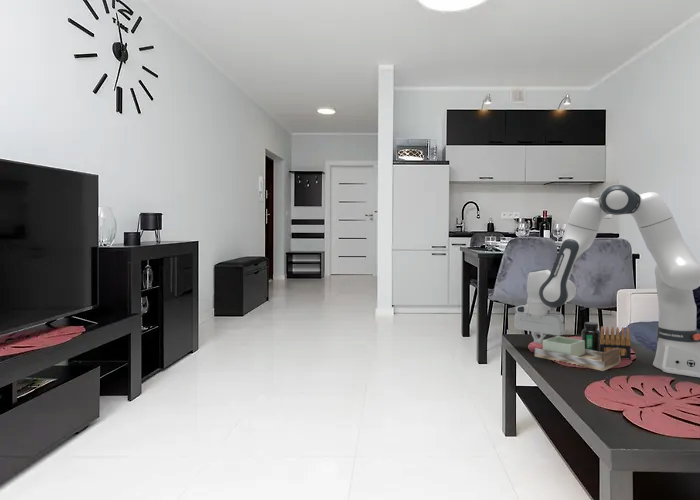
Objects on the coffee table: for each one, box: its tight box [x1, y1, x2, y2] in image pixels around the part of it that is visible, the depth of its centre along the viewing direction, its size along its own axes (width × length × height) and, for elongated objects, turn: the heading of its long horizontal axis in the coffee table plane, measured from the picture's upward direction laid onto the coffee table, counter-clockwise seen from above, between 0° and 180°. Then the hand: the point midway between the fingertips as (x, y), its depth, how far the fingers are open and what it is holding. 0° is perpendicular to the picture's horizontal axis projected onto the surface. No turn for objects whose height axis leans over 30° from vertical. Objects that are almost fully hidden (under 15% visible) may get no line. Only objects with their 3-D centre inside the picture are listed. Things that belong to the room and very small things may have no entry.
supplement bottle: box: [581, 321, 601, 351], centre depth 192 cm, size 7×7×12 cm
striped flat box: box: [534, 347, 622, 372], centre depth 182 cm, size 26×14×6 cm, turn 38°
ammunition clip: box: [599, 325, 632, 360], centre depth 184 cm, size 11×2×12 cm, turn 70°
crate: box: [542, 335, 585, 357], centre depth 186 cm, size 11×11×5 cm
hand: (538, 343), depth 194 cm, fingers closed
